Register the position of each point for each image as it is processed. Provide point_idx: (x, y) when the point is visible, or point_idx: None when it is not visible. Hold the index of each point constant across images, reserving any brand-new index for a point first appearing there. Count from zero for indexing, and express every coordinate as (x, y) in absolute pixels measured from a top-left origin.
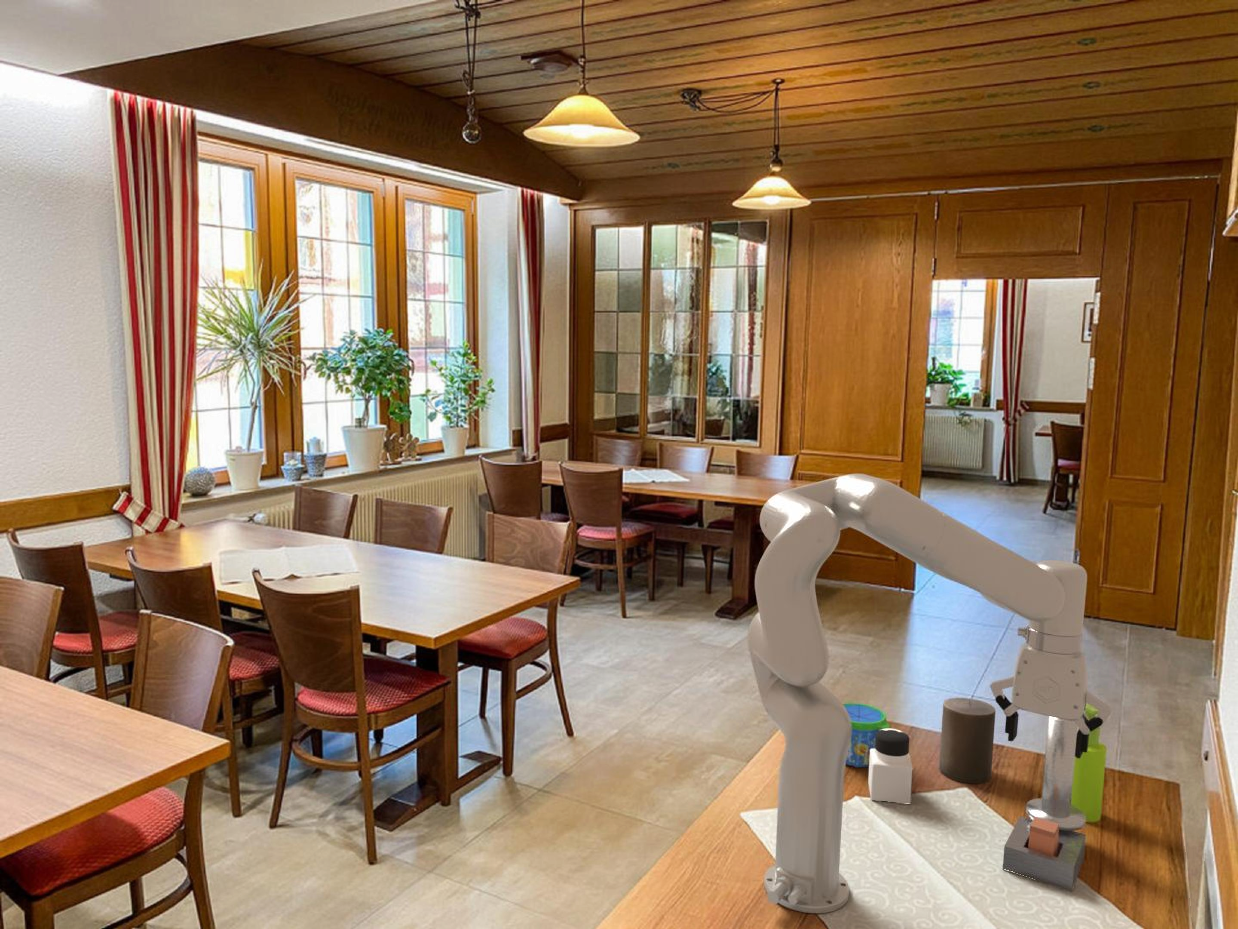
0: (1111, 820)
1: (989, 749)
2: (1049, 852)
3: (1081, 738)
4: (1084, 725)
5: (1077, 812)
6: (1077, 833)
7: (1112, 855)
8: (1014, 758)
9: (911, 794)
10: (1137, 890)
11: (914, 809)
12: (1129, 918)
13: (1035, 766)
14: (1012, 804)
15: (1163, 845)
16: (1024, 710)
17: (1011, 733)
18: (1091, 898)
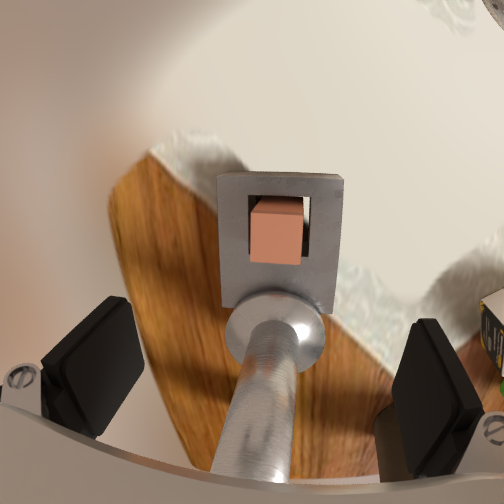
0: (221, 397)
1: (384, 451)
2: (264, 203)
3: (56, 348)
4: (9, 397)
5: (241, 353)
6: (234, 304)
7: (200, 316)
8: (344, 466)
9: (487, 308)
10: (154, 237)
11: (475, 290)
12: (149, 152)
13: (320, 462)
14: (345, 382)
15: (159, 366)
16: (430, 478)
17: (435, 341)
18: (200, 171)
